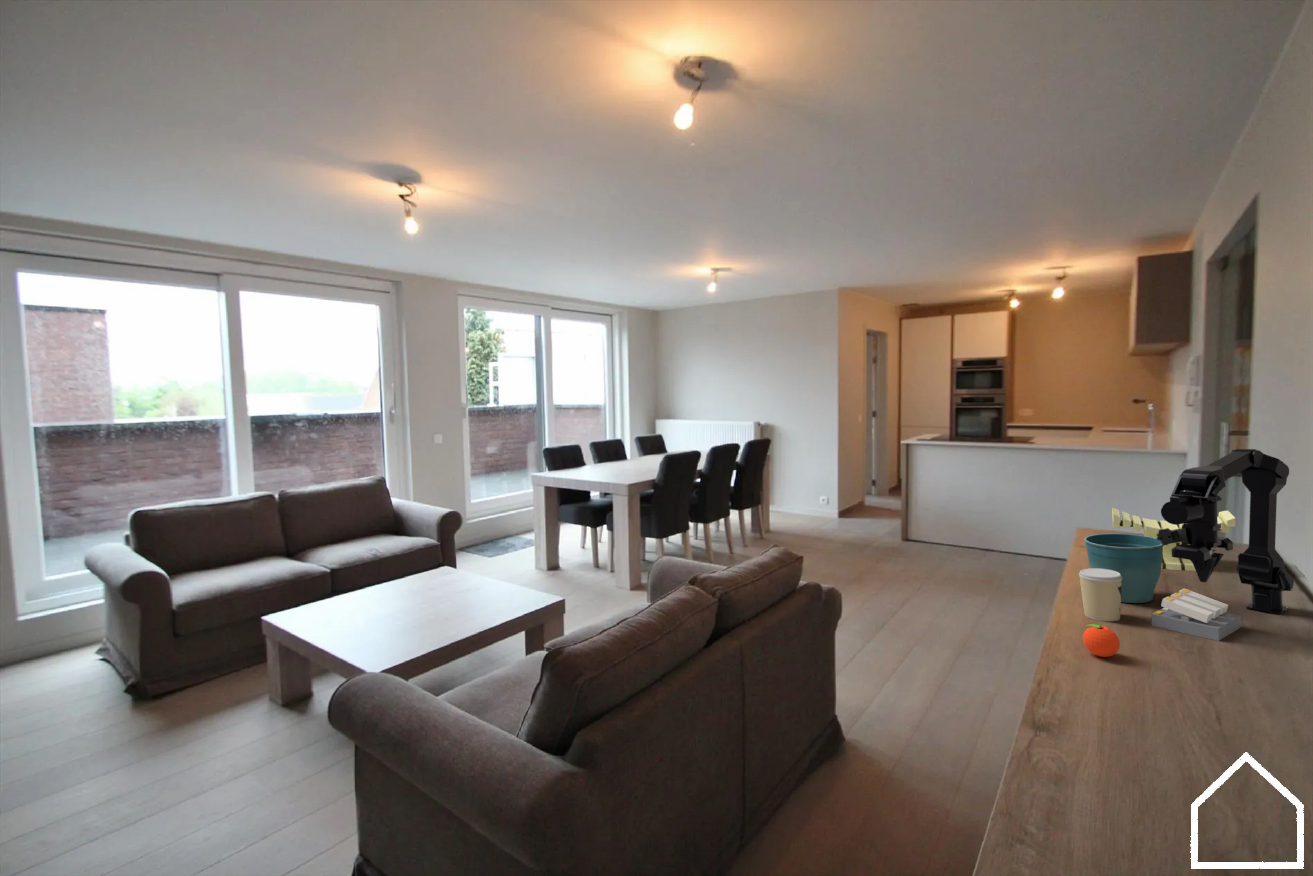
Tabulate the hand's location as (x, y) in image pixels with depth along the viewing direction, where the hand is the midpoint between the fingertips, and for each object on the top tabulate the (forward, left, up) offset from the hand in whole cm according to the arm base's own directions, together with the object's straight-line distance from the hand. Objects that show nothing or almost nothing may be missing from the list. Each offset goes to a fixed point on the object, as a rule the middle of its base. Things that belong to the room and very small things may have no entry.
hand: (1203, 581), depth 147 cm
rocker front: (+6, -1, -6) cm, 9 cm away
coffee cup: (+10, -18, -12) cm, 24 cm away
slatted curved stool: (-57, -27, -12) cm, 64 cm away
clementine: (+36, -7, -12) cm, 38 cm away
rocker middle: (+2, -1, -6) cm, 6 cm away
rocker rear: (-3, -1, -6) cm, 7 cm away
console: (+2, -1, -12) cm, 12 cm away
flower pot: (-10, -21, -12) cm, 27 cm away
